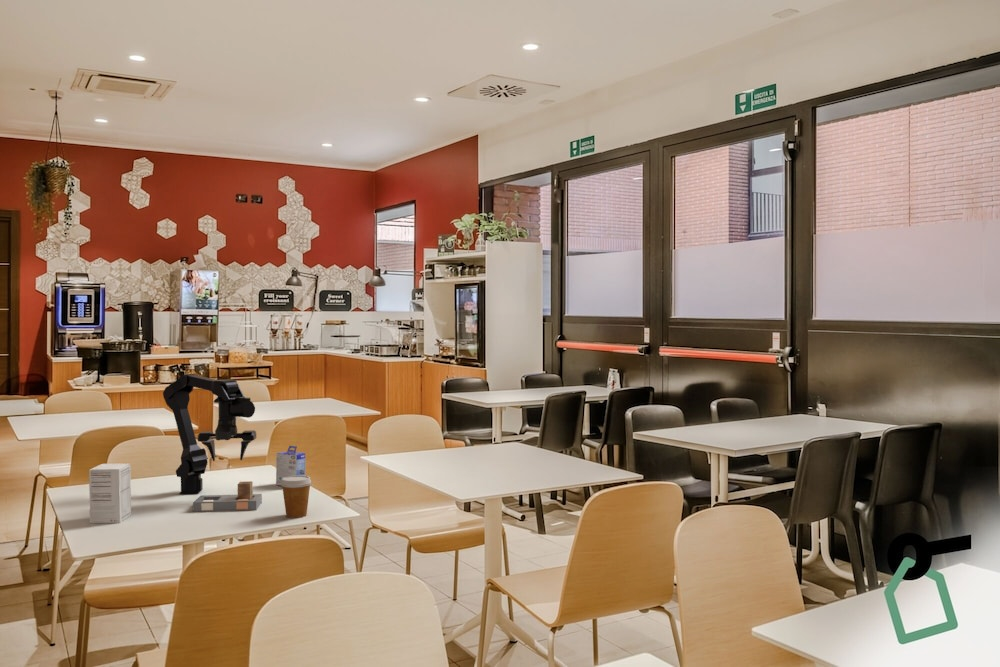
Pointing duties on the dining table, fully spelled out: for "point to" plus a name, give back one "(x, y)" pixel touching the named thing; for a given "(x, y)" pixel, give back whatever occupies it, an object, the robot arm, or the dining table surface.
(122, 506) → the supplement box
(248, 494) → the walnut plug
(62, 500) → the dining table surface
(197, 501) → the socket board
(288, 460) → the ink cartridge box
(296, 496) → the disposable coffee cup
